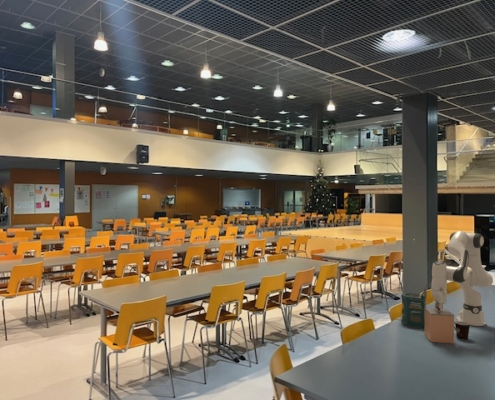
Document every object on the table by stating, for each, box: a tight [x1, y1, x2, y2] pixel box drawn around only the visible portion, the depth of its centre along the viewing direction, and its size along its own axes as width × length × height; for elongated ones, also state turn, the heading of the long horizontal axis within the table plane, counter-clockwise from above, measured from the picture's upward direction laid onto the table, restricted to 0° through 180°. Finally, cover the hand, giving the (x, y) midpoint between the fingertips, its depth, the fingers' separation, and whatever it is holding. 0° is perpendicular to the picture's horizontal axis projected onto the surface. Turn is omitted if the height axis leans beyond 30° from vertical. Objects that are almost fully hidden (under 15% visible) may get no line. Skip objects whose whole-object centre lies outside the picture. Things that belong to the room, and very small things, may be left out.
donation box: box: [400, 284, 428, 329], centre depth 284 cm, size 16×16×28 cm
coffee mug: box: [454, 320, 471, 341], centre depth 254 cm, size 12×9×10 cm
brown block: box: [423, 307, 455, 344], centre depth 251 cm, size 14×14×18 cm
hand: (438, 307), depth 251 cm, fingers closed on plunger, 4 cm apart
